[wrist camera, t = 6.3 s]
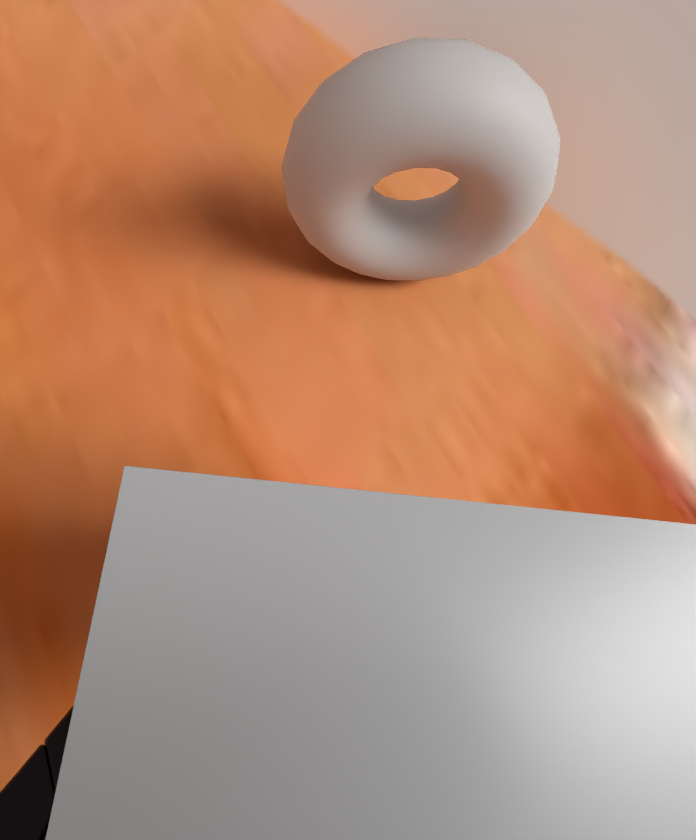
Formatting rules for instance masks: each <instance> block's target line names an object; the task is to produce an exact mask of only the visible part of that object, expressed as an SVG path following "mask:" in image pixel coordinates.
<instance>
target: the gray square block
mask: <svg viewBox="0 0 696 840" xmlns="http://www.w3.org/2000/svg"><path fill="white" fill-rule="evenodd" d="M45 840H696V525H695V524H685V523H676V522H666V521H656V520H646V519H637V518H627V517H617V516H608V515H598V514H588V513H578V512H569V511H559V510H549V509H539V508H530V507H520V506H510V505H501V504H491V503H481V502H471V501H462V500H452V499H442V498H432V497H423V496H413V495H403V494H394V493H384V492H374V491H364V490H355V489H345V488H335V487H326V486H316V485H306V484H296V483H287V482H277V481H267V480H257V479H248V478H238V477H228V476H219V475H209V474H199V473H189V472H180V471H170V470H160V469H150V468H141V467H131V466H125V467H124V471H123V476H122V481H121V485H120V490H119V495H118V500H117V504H116V509H115V514H114V518H113V523H112V528H111V533H110V537H109V542H108V547H107V551H106V556H105V561H104V566H103V570H102V575H101V580H100V584H99V589H98V594H97V599H96V603H95V608H94V613H93V617H92V622H91V627H90V632H89V636H88V641H87V646H86V650H85V655H84V660H83V665H82V669H81V674H80V679H79V683H78V688H77V693H76V698H75V702H74V707H73V712H72V716H71V721H70V726H69V731H68V735H67V740H66V745H65V749H64V754H63V759H62V764H61V768H60V773H59V778H58V782H57V787H56V792H55V797H54V801H53V806H52V811H51V815H50V820H49V825H48V830H47V834H46V839H45Z"/></svg>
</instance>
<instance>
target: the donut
mask: <svg viewBox="0 0 696 840" xmlns="http://www.w3.org/2000/svg"><path fill="white" fill-rule="evenodd" d="M559 150H560V136H559V134H558V130H557V127H556V124H555V121H554V118H553V115H552V111H551V108H550V105H549V103H548V100H547V97H546V94H545V92H544V91H543V90H542V89H541V88H540V87H539V86H538V85H537V84H536V83H535V82H534V81H533V80H532V79H531V78H530V77H529V76H528V74H526V72H525V71H523V69H522V68H521V67H520V66H519V65H518V64H517V63H516V62H515V61H513V60H512V59H510V58H509V57H507V56H505V55H502V54H500V53H497V52H495V51H492V50H490V49H487V48H485V47H482V46H479V45H477V44H475V43H472V42H470V41H467V40H464V39H463V40H462V39H430V38H428V39H427V38H412V39H409V40H406V41H402V42H399V43H396V44H392V45H389V46H385V47H382V48H379V49H375V50H372V51H368V52H365V53H364V54H362V55H360V56H359V57H358V58H356V59H355V60H353V61H352V62H350V63H349V64H347V65H346V66H344V67H343V68H341V69H340V70H339V71H337V72H336V73H334V74H333V75H331V76H330V77H328V78H327V79H325V81H324V82H323V83H322V84H321V85H320V86H319V87H318V88H317V90H316V91H315V92H314V94H313V95H312V97H311V98H310V99H309V101H308V102H307V103H306V105H305V106H304V107H303V109H302V110H301V112H300V113H299V114H298V116H297V117H296V118H295V120H294V122H293V126H292V130H291V133H290V137H289V141H288V145H287V148H286V152H285V156H284V160H283V164H282V173H283V181H284V187H285V194H286V200H287V206H288V210H289V212H290V214H291V215H292V217H293V219H294V221H295V222H296V224H297V225H298V227H299V229H300V230H301V232H302V234H303V235H304V237H305V238H306V240H307V242H309V243H310V244H311V245H312V246H314V247H315V248H316V249H317V250H318V251H320V252H321V253H322V254H323V255H325V256H326V257H327V258H328V259H330V260H331V261H332V262H334V263H335V264H338V265H340V266H342V267H344V268H347V269H349V270H351V271H353V272H356V273H358V274H361V275H366V276H371V277H375V278H380V279H385V280H408V281H418V280H425V279H432V278H439V277H446V276H449V275H452V274H455V273H458V272H461V271H464V270H468V269H471V268H474V267H476V266H478V265H480V264H482V263H483V262H485V261H487V260H489V259H491V258H492V257H494V256H496V255H498V254H500V253H501V252H503V251H504V250H505V249H506V248H508V247H509V246H510V245H511V244H512V243H513V242H514V241H515V240H516V239H518V238H519V237H520V236H521V235H522V234H523V233H524V232H525V231H526V230H527V229H529V228H530V227H531V226H532V225H533V223H534V221H535V220H536V218H537V216H538V215H539V213H540V211H541V210H542V208H543V206H544V205H545V203H546V201H547V199H548V198H549V196H550V194H551V192H552V190H553V188H554V185H555V178H556V171H557V165H558V158H559ZM412 168H437V169H440V170H444V171H447V172H450V173H452V174H454V175H455V176H456V177H458V178H459V180H458V182H457V183H456V184H455V185H454V186H452V187H451V188H450V189H448V190H447V191H446V192H443V193H441V194H439V195H436V196H434V197H431V198H426V199H421V200H416V201H411V200H396V199H392V198H388V197H385V196H383V195H382V194H380V193H378V192H377V191H375V190H374V188H373V186H374V185H375V184H376V183H377V182H378V181H380V180H381V179H382V178H384V177H386V176H388V175H390V174H392V173H394V172H398V171H403V170H407V169H412Z"/></svg>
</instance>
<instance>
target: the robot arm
mask: <svg viewBox="0 0 696 840" xmlns="http://www.w3.org/2000/svg"><path fill="white" fill-rule="evenodd" d="M73 707H74V705H73ZM73 707H72V708H71V709H70V710H69V711H68V713H67V714H66V715H65V716H64V717H63V719H62V720H61V721H60V722H59V723H58V725H57V726H56V727H55V728H54V729H53V731H52V732H51V733H50V734H49V735H48V737H47V738H46V739H45V745H40V746H39V747H38V748H37V749H36V751H35V752H34V753H33V754H32V755H31V757H30V758H29V759H28V760H27V761H26V763H25V764H24V765H23V766H22V767H21V769H20V770H19V771H18V772H17V773H16V775H15V776H14V777H13V778H12V779H11V780H10V781H9V783H8V784H7V785H6V786H5V787H4V788H3V790H2V791H1V792H0V840H45V839H46V834H47V830H48V825H49V820H50V815H51V811H52V806H53V801H54V797H55V792H56V787H57V782H58V778H59V773H60V768H61V764H62V759H63V754H64V749H65V745H66V740H67V735H68V731H69V726H70V721H71V716H72V712H73Z"/></svg>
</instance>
